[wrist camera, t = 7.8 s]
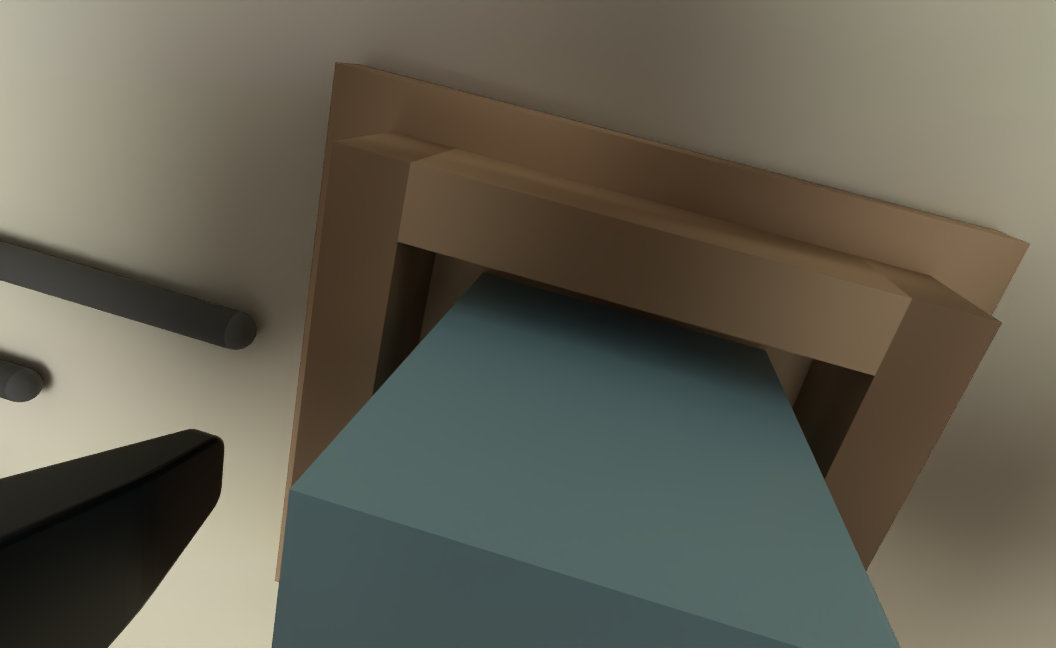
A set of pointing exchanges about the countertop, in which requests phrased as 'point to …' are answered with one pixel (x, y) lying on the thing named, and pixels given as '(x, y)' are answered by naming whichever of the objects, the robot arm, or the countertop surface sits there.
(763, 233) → the dock
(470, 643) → the blue drawer box
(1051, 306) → the countertop surface
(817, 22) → the countertop surface
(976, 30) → the countertop surface
